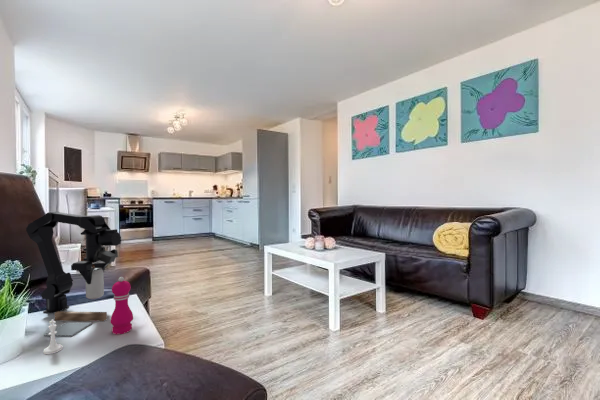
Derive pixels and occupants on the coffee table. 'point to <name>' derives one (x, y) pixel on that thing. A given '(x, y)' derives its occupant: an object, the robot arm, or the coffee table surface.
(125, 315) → the pepper mill
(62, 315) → the low wall
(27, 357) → the coffee table surface
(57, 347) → the chess piece
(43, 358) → the coffee table surface
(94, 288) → the beverage can
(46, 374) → the coffee table surface
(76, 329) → the slate mat
